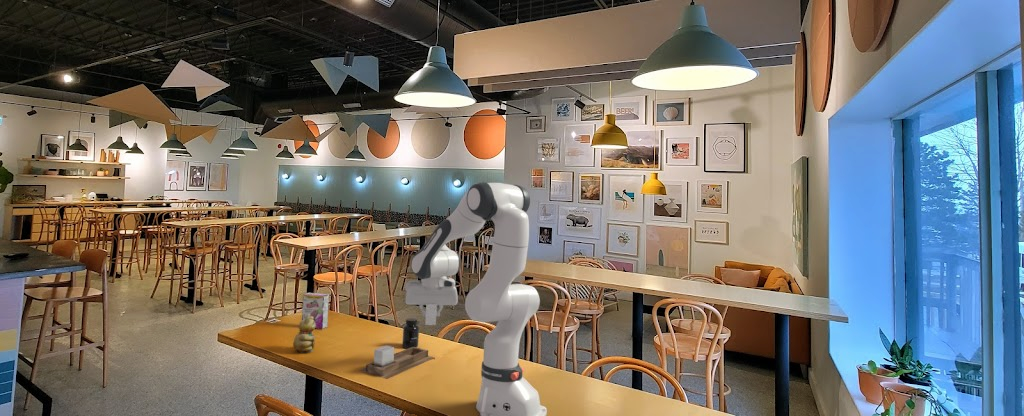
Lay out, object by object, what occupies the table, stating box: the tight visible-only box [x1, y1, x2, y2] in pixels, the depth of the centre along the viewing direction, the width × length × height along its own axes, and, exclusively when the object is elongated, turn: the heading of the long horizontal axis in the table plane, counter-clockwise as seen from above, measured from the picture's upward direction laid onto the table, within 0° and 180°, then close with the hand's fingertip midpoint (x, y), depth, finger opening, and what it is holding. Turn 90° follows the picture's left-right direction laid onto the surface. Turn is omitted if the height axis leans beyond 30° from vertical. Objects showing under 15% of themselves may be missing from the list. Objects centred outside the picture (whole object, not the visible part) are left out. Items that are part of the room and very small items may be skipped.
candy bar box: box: [301, 292, 330, 330], centre depth 223 cm, size 11×5×16 cm, turn 82°
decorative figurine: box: [292, 314, 316, 353], centre depth 189 cm, size 10×8×15 cm
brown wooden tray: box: [358, 347, 436, 380], centre depth 175 cm, size 14×27×4 cm, turn 152°
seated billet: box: [373, 345, 395, 368], centre depth 168 cm, size 4×6×8 cm, turn 152°
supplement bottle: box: [402, 317, 420, 349], centre depth 201 cm, size 7×7×12 cm
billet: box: [424, 304, 438, 326], centre depth 178 cm, size 4×6×8 cm, turn 10°
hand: (430, 315), depth 178 cm, fingers closed on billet, 4 cm apart
